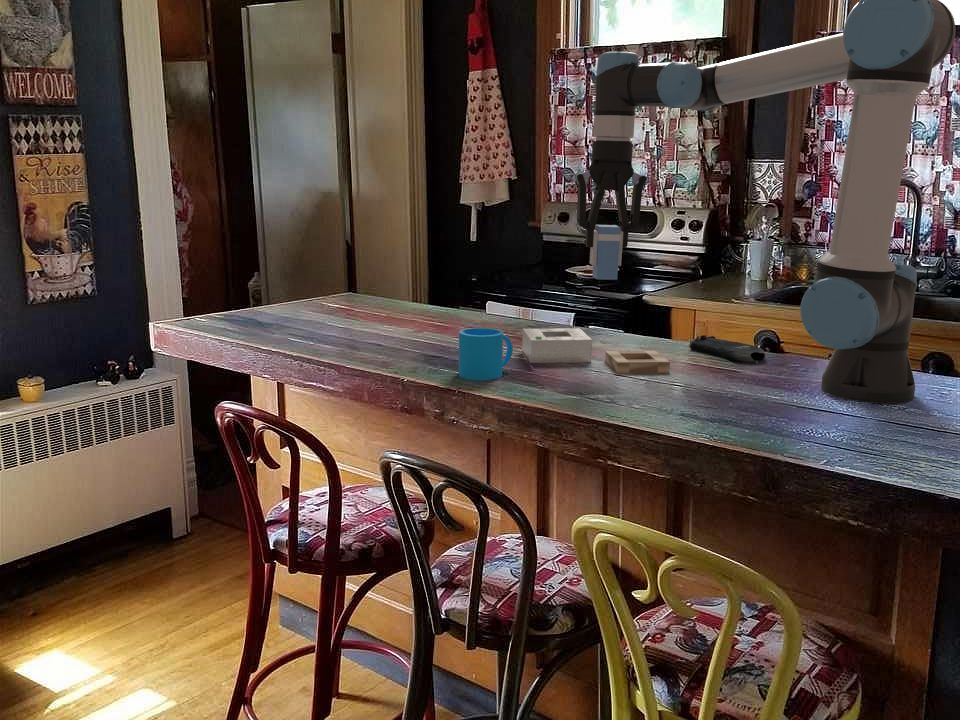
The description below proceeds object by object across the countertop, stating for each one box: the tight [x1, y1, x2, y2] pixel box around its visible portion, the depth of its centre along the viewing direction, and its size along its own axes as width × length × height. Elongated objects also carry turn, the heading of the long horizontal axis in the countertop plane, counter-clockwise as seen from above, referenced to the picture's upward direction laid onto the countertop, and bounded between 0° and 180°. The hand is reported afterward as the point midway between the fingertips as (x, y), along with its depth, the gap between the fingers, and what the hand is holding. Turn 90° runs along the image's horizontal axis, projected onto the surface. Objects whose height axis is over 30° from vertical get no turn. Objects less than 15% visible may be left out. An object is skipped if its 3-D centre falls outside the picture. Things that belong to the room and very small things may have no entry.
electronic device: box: [688, 334, 766, 364], centre depth 189 cm, size 9×6×15 cm
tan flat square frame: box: [604, 350, 671, 374], centre depth 176 cm, size 10×10×2 cm
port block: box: [521, 327, 593, 366], centre depth 184 cm, size 12×12×5 cm
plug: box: [591, 224, 621, 281], centre depth 176 cm, size 4×4×10 cm
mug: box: [458, 327, 514, 381], centre depth 171 cm, size 12×8×8 cm
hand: (605, 264), depth 176 cm, fingers closed on plug, 4 cm apart
